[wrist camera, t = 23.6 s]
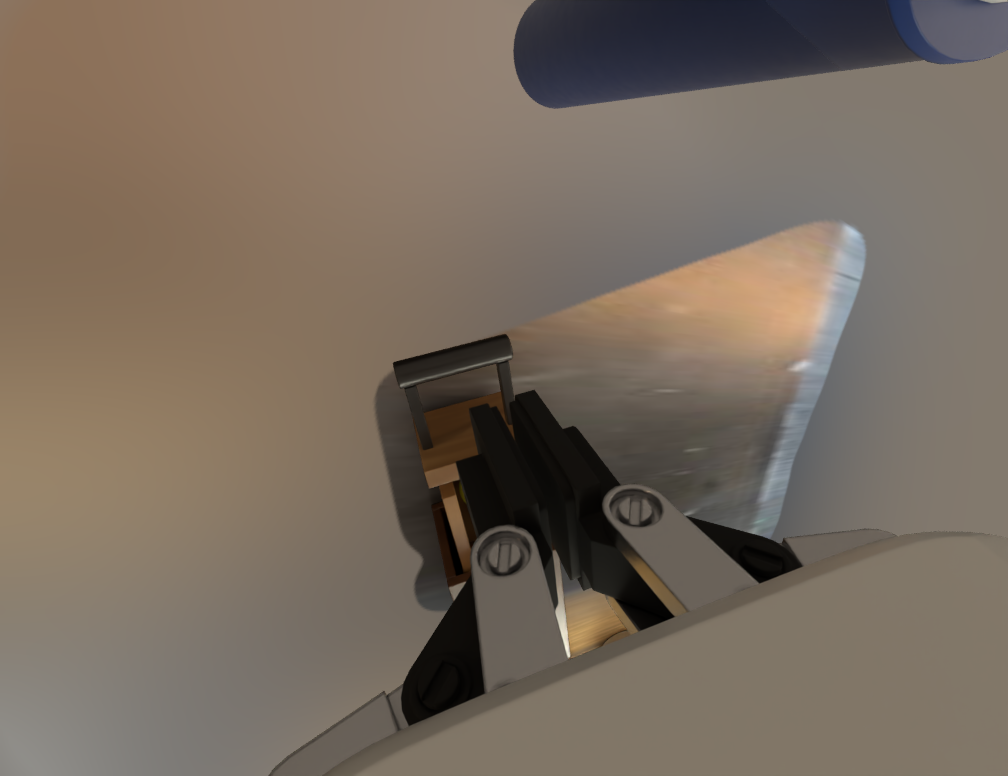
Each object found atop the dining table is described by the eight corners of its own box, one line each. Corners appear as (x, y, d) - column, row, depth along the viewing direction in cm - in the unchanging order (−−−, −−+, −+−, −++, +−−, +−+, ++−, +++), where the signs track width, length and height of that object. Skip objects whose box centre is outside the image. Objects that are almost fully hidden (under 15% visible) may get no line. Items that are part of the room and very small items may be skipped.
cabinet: (431, 504, 33) (448, 587, 27) (522, 475, 34) (558, 548, 28) (463, 607, 40) (483, 692, 34) (538, 580, 41) (570, 657, 35)
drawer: (388, 336, 25) (396, 383, 20) (489, 312, 26) (519, 350, 21) (451, 544, 34) (466, 608, 30) (524, 519, 35) (550, 578, 31)
